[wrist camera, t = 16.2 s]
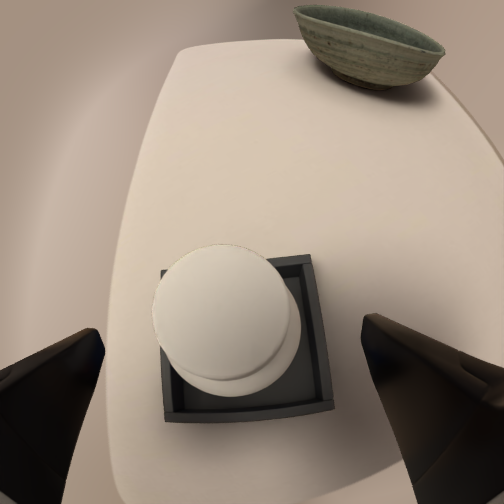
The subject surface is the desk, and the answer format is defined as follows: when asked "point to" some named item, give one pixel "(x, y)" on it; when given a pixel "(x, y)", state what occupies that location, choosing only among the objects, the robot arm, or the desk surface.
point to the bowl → (367, 46)
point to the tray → (285, 387)
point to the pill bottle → (226, 320)
